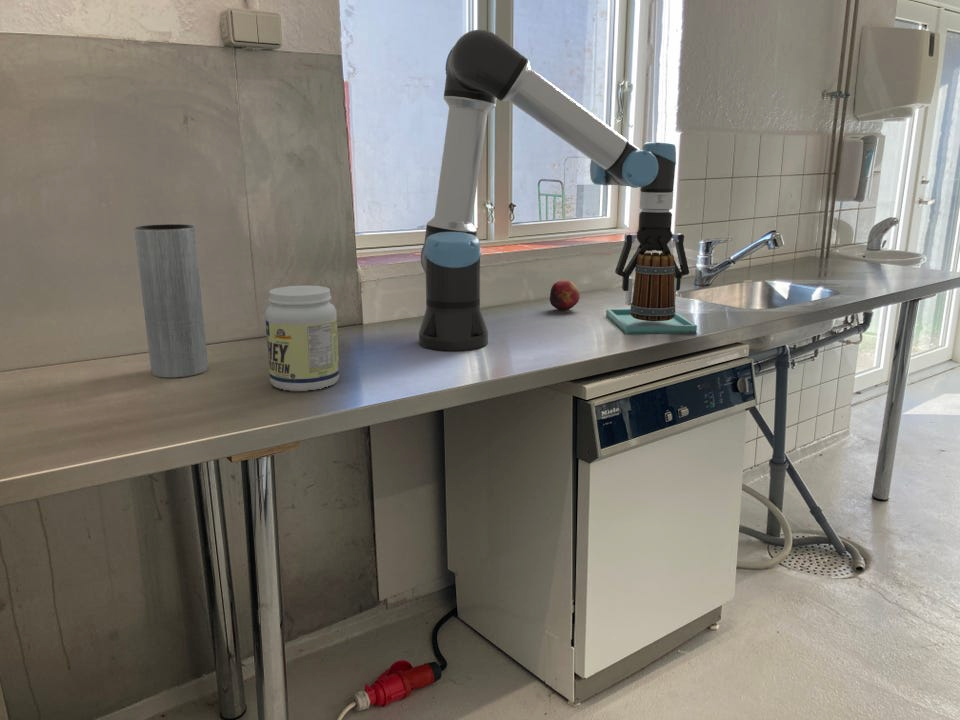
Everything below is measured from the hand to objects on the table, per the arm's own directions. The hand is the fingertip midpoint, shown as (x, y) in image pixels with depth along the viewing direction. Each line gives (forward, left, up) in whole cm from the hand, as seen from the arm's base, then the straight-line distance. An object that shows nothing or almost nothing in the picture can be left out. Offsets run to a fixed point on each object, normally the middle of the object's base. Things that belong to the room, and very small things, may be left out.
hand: (650, 304), depth 179 cm
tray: (0, 0, -5) cm, 5 cm away
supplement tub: (-75, -46, -5) cm, 88 cm away
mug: (+1, 0, -3) cm, 3 cm away
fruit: (-18, +18, -5) cm, 26 cm away
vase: (-100, -37, -5) cm, 107 cm away
